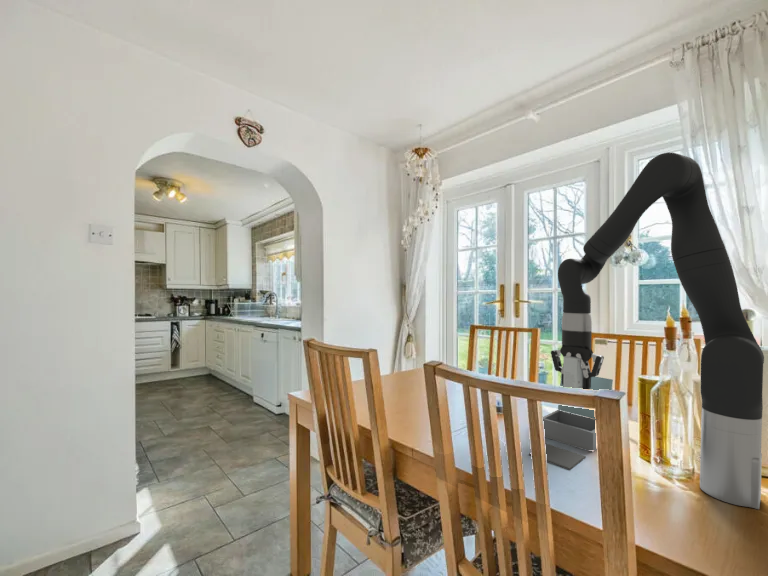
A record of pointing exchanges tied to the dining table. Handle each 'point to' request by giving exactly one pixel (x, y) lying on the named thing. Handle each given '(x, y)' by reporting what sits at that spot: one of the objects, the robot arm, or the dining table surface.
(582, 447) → the grey open box
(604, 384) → the lid
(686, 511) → the dining table surface
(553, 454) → the rubber mat
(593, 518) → the dining table surface
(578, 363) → the skincare box
